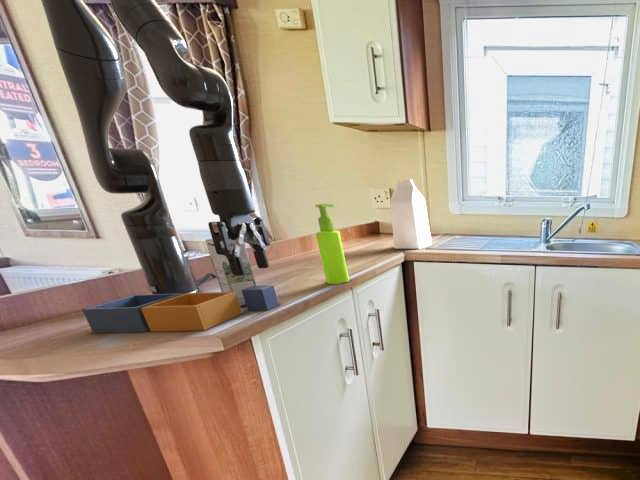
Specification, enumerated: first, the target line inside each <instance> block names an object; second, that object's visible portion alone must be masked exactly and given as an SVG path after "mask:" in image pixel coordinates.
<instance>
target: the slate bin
mask: <svg viewBox="0 0 640 480" xmlns="http://www.w3.org/2000/svg"><path fill="white" fill-rule="evenodd" d="M180 295H183V294H182V293H178V294H152V293H151V294H150V293H149V294H147V293H146V294H133V295H128V296H125V297H122V298H118V299H115V300H111V301H107V302H104V303H100V304H96V305H92V306H89V307H86V308H82V309H81V311H82V313H83V314H84V316H85V319H86V321H87V323H88V325H89V328H90V329H91V330H92V334H101V333H103V334H105V333H110V334H111V333H145V332H149V331H150V328H149V326H148V323H147V321H146V319H145V316H144V314H143V312H142V309H141V308H142V307H145V306H148V305H152V304H155V303H158V302H161V301H164V300H167V299H170V298H174V297H177V296H180Z"/></svg>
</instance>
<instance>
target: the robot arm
mask: <svg viewBox="0 0 640 480" xmlns="http://www.w3.org/2000/svg"><path fill="white" fill-rule="evenodd" d="M40 2H41V4H42V7H43V11H44V14H45V17H46V20H47V23H48V26H49V27H48V28H49V30H50V33H51V37H52V41H53V45H54V47H55V50H56V53H57V56H58V60H59V62H60V66H61V68H62V71H63V75H64V77H65V80H66V82H67V86H68V88H69V92H70V95H71V98H72V100H73V103H74V105H75V108H76V111H77V115H78V118H79V122H80V126H81V130H82V134H83V139H84V142H85V146H86V149H87V154H88V158H89V161H90V166H91V168H92V171H93V175H94V177H95V179H96V181H97V183H98V185H99V186H100V187H101V189H102V190H103V191H105V192H106V193H109V194H114V195H115V194H116V195H120V194H121V195H122V194H124V195H125V194H127V195H128V194H144V200H142V202H141V203H140V204H138V205H137V206H135V207H133V208H130V209H127V210H125V211H123V212H121V214H120V217H121V221H122V223H123V226H124V228H125V230H126V233H127V235H128V238H129V240H130V242H131V245H132V247H133V250H134V252H135V254H136V258H137V260H138V262H139V265H140V267H141V269H142V272H143V274H144V278H145V280H146V282H147V284H148V285H146V288H147V291H148V292H151V294H178V293H182V294H186V293H199V292H200V290H201V289H200V286H199V285H200V284H201V283H203V282H205V281H207V280H208V279H209V278H211V277H212V278H213V279H217V275H216V273H213V272H209V273H206V274H205V275H204V276H203V277H201V278H199V279H196V278H197V277H196V275H195V273H194V270H193V267H192V265H191V262H190V259H189V256H188V254H186V253H185V252H184V250H183V247H182V244H181V242H180V239H179V236H178V234H177V231H176V228H175V225H174V222H173V220H172V217H171V214H170V211H169V206H168V203H167V201H166V198H165V196H164V192H163V189H162V185H161V181H160V178H159V174H158V172H157V168H156V166H155V163H154V162H153V160H152V158H151V156H150V154H149V153H148V152H147V151H145V150H143V149H141V148H127V147H126V148H125V147H124V148H123V147H110V146H109V134H110V133H109V132H110V128H111V124H112V122H113V119H114V116H115V114H116V113H117V111H118V109H119V107H120V105H121V104H122V102H123V100H124V97H125V94H126V91H127V79H126V75H125V71H124V66H123V63H122V58H121V54H120V50H119V49H118V48H119V47H118V46H117V43H116V42H115V40H114V38H113V36H112V35H111V34H110V33H109V31H108V30H107V29H106V27H105V26H104V25H103V24H102V22H101V21H100V20H99V19H98V17H97V16H96V15H95V13H94V12H93V11H92V10H91V9H90V7H89V6H88V5H87V4H86V2H85V1H84V0H40ZM109 2H110V6H111V8H112V10H113V13H114V15H115V17H116V18H117V20H118V21H119V22H120V23H119V24H121V25H122V27H123V28H124V30H125V31H126V32H127V33H128V34H129V36H130V37H131V38H132V39H133V41H134V42H135V43H136V45H137V46H138V47H139V48H140V50H141V51H142V52H143V53H144V55H145V57H146V60H147V63H148V64H149V66H150V68H151V71H152V72H153V74H154V76H155V79H156V80H157V83H158V85H159V87H160V89H161V90H162V91H163V93H164V94H165V95H166V96H167V97H168V98H169V100H171V101H172V102H173V103H175V104H177V105H178V106H180V107H182V108H185V109H190V110H195V111H196V110H197V111H201V112H202V124H199V125H194V126H192V127H190V128H189V131H188V133H189V135H188V136H189V139H190V143H191V146H192V148H193V149H192V150H193V152H194V155H195V157H196V162H197V165H198V171H199V175H200V178H201V179H200V180H201V182H202V185H203V188H204V191H205V195H206V198H207V201H208V203H209V207H210V210H211V213H212V214H213V215H215V216H218V218H219V221H209V222H208V228H209V229H208V230H209V232H210V235H211V239H213V243H214V246H215V250H216V253H217V254H218V255H224V256H225V257H227V259H228V262H229V265H230V268H231V271H232V273H233V275H234V276H242V275H245V270H244V267H243V263H242V260H241V257H240V256H239V252H240V247H241V246H242V245H243V242H244V244H245V243H246V244H248V245H249V246H250V248H251V249H252V250H253V255H254V259H255V262H256V266H257V268H258V269H267V268H269V267H270V265H269V260H268V257H267V252H266V250H267V247H269V246H270V245H271V241H270V239H269V236H268V233H267V229H266V226H265V223H264V220H263V218H262V217H261V216H255V217H252V214H253V213H255V212H256V208H255V204H254V201H253V197H252V193H251V190H250V187H249V182H248V179H247V175H246V172H245V170H244V168H243V166H242V162H241V159H240V157H239V153H238V149H237V145H236V142H235V138H234V102H233V96H232V93H231V89H230V87H229V86H228V83H227V82H226V81H225V79H224V77H222V75H221V74H220V73H219V72H217V71H216V70H215V69H213V68H210V67H207V66H204V65H199V64H195V63H193V62H188V61H185V60H186V59H187V57H188V54H189V50H188V49H189V48H188V46H187V43H186V41H185V39H184V37H183V36H182V34H181V33H180V32H179V30H178V29H177V28H176V26H175V25H174V24H173V22H172V21H171V19H170V18H169V17H168V16H167V14H166V13H165V12H164V11H163V9H162V8H161V7H160V5H159V4H158V3H157V2H156V0H109ZM230 239H231V240H230ZM220 241H222V243H223V244H224V248H222V247H221V244H220ZM231 247H233V250H232V249H231Z"/></svg>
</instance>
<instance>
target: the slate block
mask: <svg viewBox="0 0 640 480" xmlns="http://www.w3.org/2000/svg"><path fill="white" fill-rule="evenodd" d="M241 291H242V294H243V297H244V300H245V303H246V309H247V311H248V312H249V311H269V310H271V309H273V308H275V307H277V306H279V300H278V298H277V297H278V296H277V293H276V290H275V286H274V285H273V284H260V285H259V284H258V285H257V284H256V285H255V286H251V287H249V288H246V289H243V290H241Z"/></svg>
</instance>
